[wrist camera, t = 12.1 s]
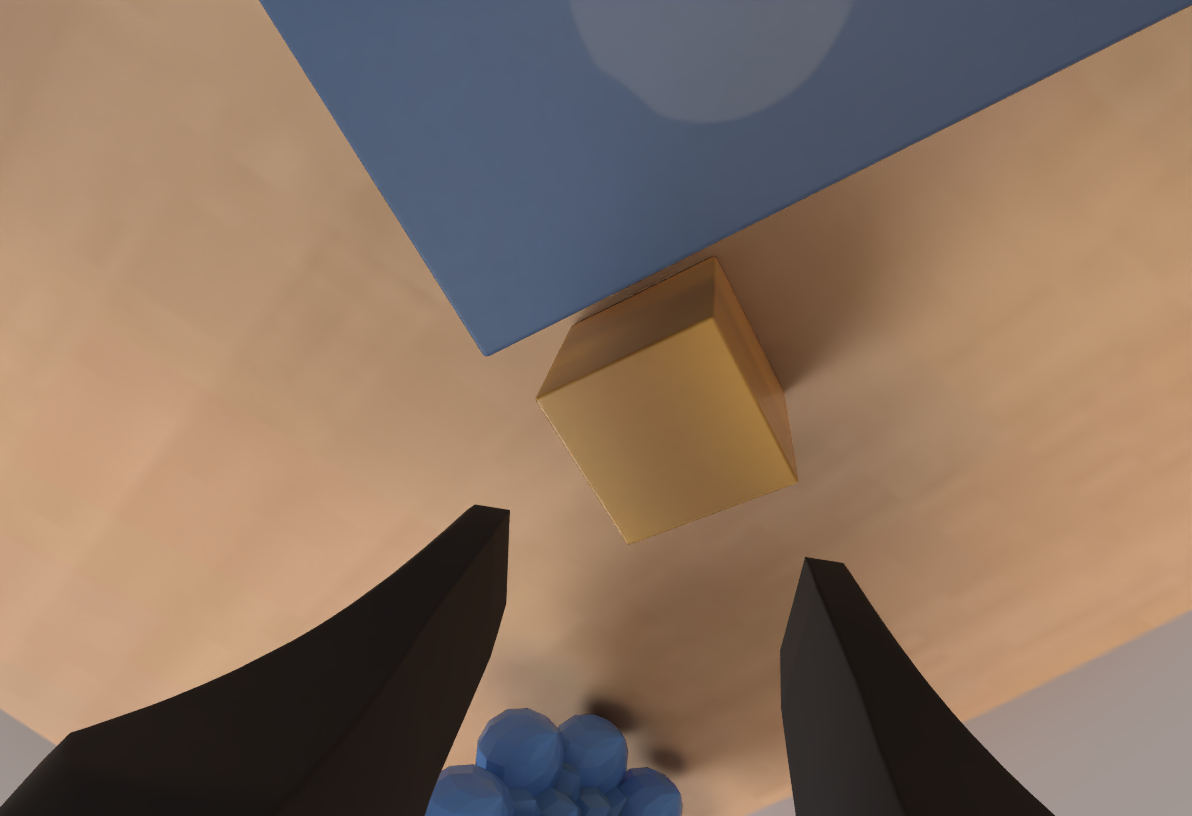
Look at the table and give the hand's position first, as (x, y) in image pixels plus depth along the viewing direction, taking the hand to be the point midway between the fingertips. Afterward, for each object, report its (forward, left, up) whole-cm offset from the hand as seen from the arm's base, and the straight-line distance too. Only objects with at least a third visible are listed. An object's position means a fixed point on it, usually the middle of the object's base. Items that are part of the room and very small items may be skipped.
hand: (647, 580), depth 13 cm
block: (0, 0, -9) cm, 9 cm away
